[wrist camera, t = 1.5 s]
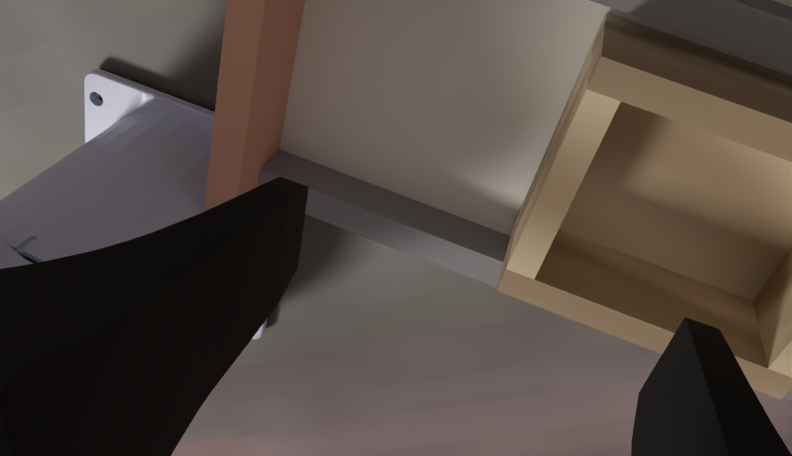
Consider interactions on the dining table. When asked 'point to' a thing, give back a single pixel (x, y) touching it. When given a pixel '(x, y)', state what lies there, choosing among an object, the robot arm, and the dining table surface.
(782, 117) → the crate
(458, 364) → the dining table surface
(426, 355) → the dining table surface
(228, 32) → the crate bay
